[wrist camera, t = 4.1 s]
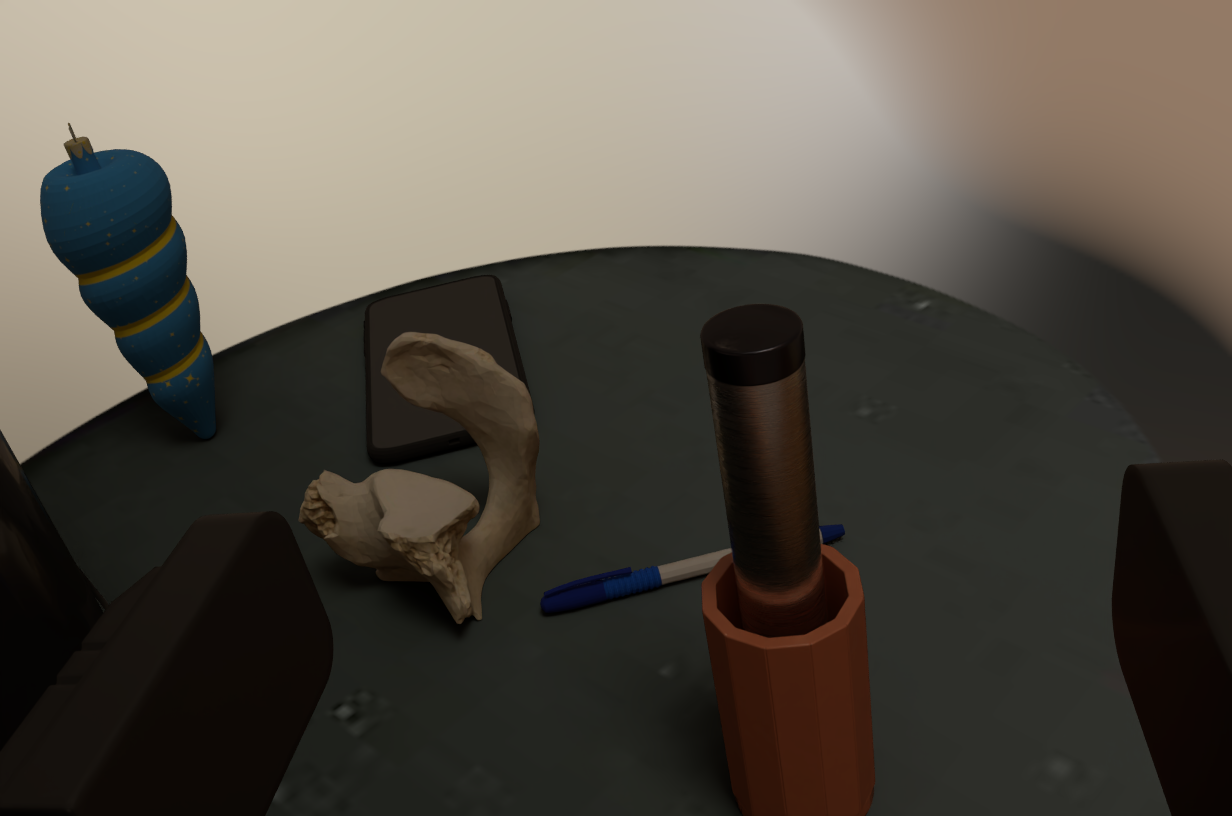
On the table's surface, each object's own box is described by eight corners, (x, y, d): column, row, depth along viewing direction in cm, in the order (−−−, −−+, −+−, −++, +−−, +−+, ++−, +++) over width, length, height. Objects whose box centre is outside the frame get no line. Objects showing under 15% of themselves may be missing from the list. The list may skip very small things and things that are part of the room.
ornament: (254, 395, 53) (131, 91, 45) (275, 441, 49) (143, 116, 41) (147, 435, 51) (-1, 127, 43) (159, 486, 47) (-1, 157, 39)
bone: (314, 674, 33) (245, 355, 33) (334, 636, 40) (275, 368, 40) (585, 607, 35) (519, 301, 35) (562, 581, 41) (506, 322, 41)
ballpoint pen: (545, 625, 36) (539, 603, 35) (541, 607, 37) (535, 585, 36) (846, 542, 37) (845, 520, 36) (836, 527, 38) (835, 504, 37)
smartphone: (363, 457, 45) (362, 301, 57) (369, 475, 45) (367, 316, 58) (537, 414, 45) (498, 268, 58) (542, 432, 46) (502, 284, 59)
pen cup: (785, 871, 27) (758, 672, 23) (708, 771, 30) (673, 580, 26) (904, 799, 28) (896, 599, 24) (818, 709, 31) (799, 518, 27)
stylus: (792, 818, 28) (735, 364, 21) (748, 765, 29) (681, 326, 22) (856, 780, 28) (823, 327, 21) (810, 730, 30) (764, 292, 23)
